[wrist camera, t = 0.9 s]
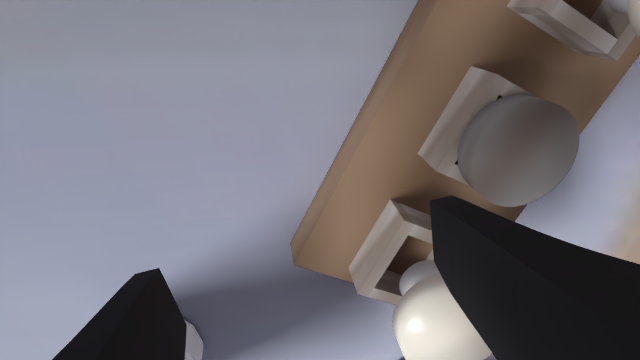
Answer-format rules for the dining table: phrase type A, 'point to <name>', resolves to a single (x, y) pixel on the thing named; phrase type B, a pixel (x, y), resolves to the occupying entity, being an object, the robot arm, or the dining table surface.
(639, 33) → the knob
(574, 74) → the knob mount
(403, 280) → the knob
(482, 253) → the robot arm
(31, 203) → the dining table surface
